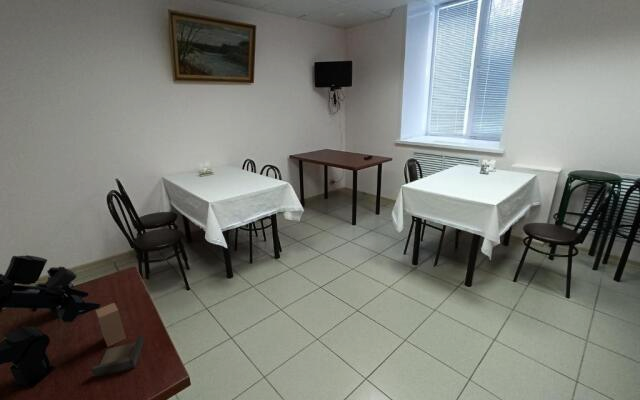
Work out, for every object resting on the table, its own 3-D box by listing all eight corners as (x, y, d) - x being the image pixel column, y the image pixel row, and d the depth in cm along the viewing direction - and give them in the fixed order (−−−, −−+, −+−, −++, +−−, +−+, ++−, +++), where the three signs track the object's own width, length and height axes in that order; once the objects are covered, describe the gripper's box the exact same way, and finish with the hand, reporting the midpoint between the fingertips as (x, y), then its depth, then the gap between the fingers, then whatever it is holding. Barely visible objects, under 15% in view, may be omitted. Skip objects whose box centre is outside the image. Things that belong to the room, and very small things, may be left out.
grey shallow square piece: (94, 377, 82) (91, 369, 81) (107, 349, 91) (105, 342, 90) (135, 367, 84) (133, 359, 83) (143, 342, 93) (141, 334, 92)
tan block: (107, 347, 92) (98, 317, 88) (104, 338, 95) (95, 310, 92) (126, 338, 95) (118, 309, 92) (122, 330, 98) (114, 302, 95)
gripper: (55, 279, 75) (119, 285, 88) (34, 257, 85) (93, 265, 98) (33, 323, 73) (101, 322, 86) (14, 295, 83) (77, 298, 96)
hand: (93, 300), depth 91 cm, fingers open, 9 cm apart
